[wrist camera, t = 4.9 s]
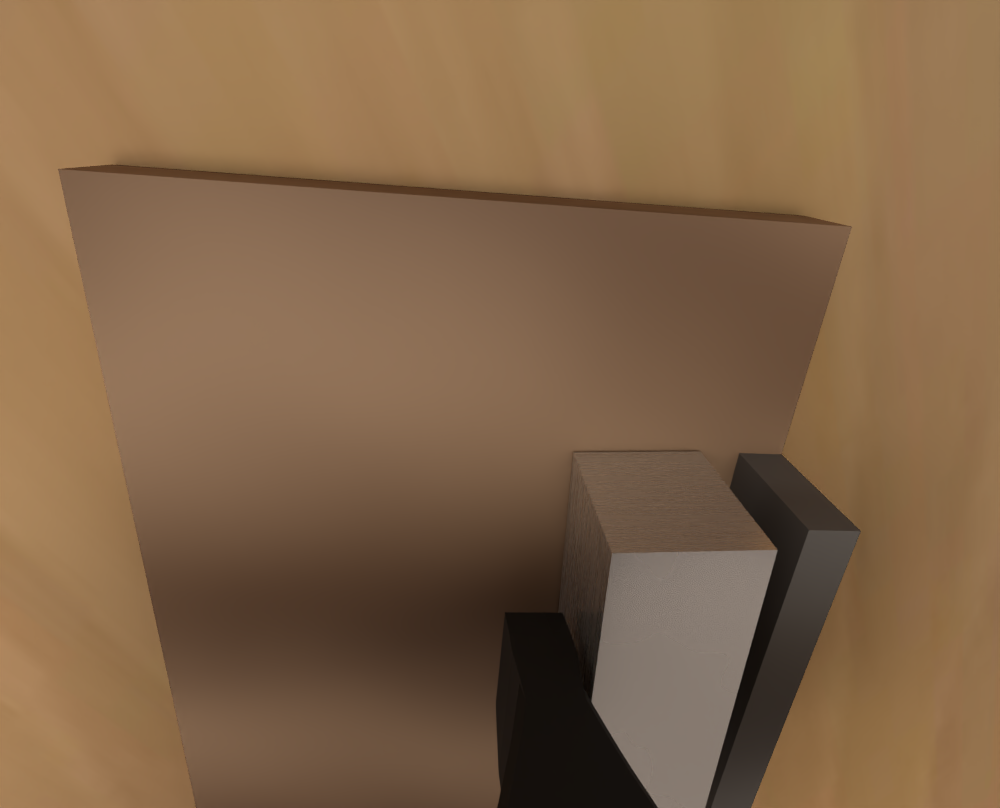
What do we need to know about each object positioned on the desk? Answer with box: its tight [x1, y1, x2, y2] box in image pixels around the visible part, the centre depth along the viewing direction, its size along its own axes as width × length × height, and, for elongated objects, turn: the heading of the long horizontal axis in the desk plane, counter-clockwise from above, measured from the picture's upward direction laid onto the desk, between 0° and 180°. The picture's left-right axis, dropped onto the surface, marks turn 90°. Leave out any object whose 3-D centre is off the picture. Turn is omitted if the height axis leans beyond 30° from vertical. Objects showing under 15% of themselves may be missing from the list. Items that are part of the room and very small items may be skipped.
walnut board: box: [58, 165, 861, 808], centre depth 10 cm, size 15×10×3 cm, turn 176°
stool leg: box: [558, 451, 778, 808], centre depth 10 cm, size 9×2×3 cm, turn 178°
